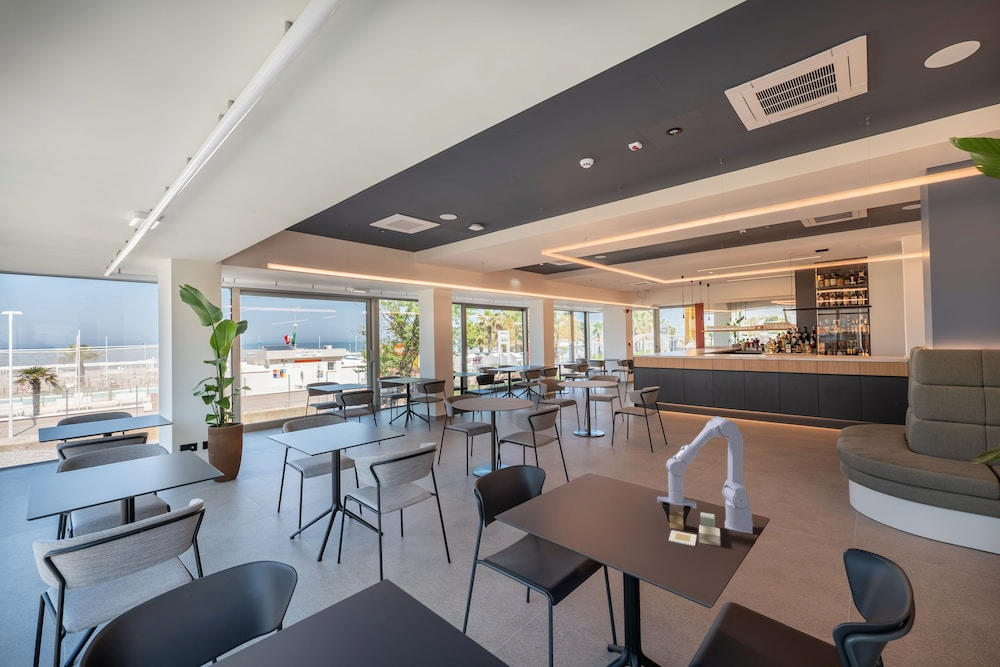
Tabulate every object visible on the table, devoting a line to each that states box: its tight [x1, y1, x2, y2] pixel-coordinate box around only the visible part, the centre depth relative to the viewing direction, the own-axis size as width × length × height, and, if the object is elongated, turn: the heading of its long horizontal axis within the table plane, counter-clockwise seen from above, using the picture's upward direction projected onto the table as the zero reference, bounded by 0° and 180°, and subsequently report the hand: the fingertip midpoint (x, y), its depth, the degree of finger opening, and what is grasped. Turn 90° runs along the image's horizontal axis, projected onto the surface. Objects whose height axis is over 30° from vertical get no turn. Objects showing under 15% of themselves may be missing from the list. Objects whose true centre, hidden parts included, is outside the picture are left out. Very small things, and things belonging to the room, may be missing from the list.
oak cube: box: [669, 510, 685, 531], centre depth 166 cm, size 5×5×5 cm
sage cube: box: [699, 511, 716, 528], centre depth 165 cm, size 5×5×5 cm
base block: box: [698, 524, 721, 547], centre depth 155 cm, size 7×7×4 cm
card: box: [668, 530, 697, 547], centre depth 156 cm, size 9×9×1 cm
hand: (676, 522), depth 166 cm, fingers open, 5 cm apart
